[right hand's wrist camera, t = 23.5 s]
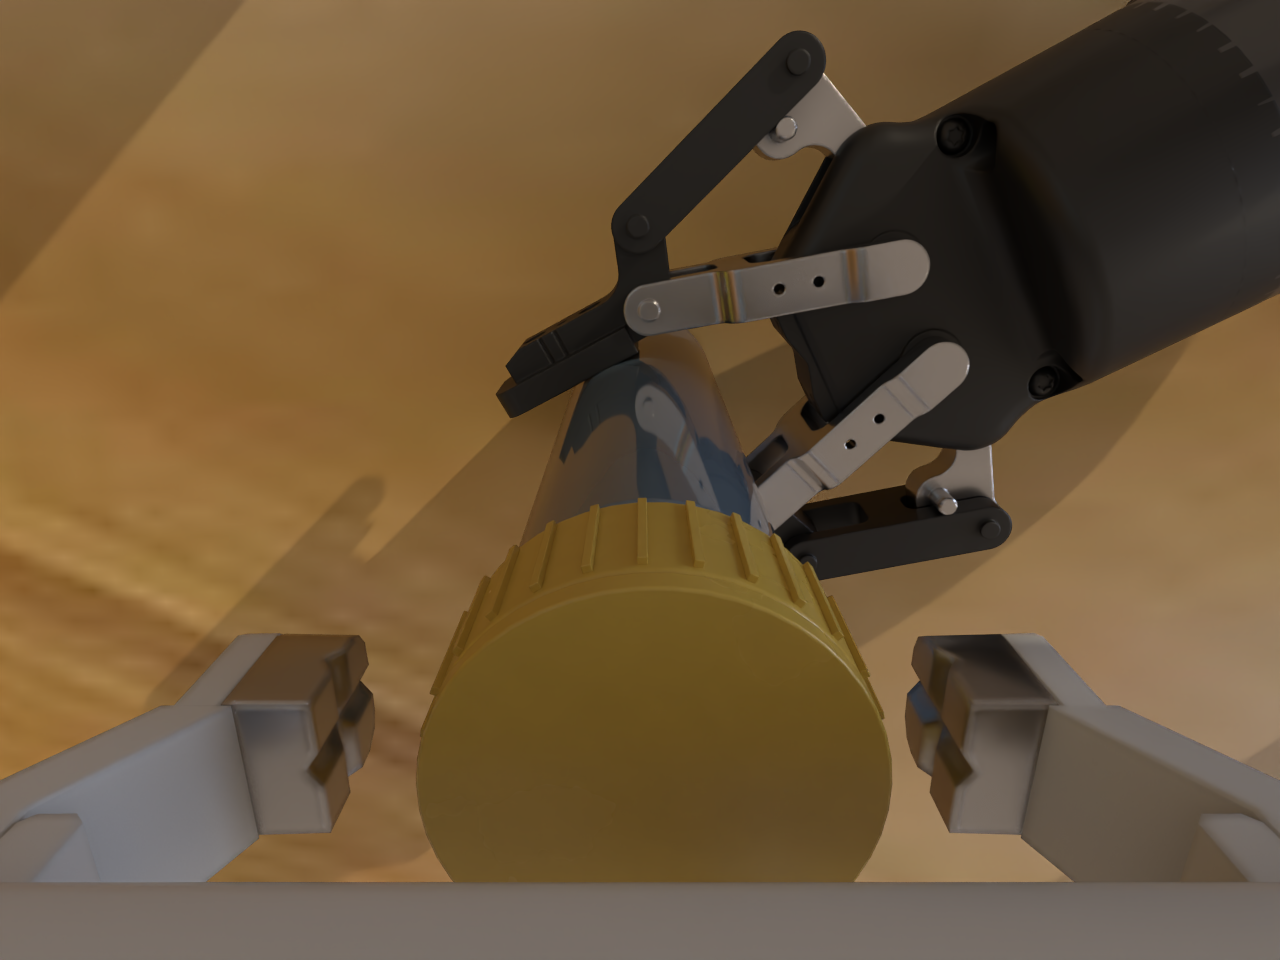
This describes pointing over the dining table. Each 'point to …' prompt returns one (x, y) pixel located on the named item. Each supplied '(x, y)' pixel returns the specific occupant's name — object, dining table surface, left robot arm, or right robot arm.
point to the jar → (648, 441)
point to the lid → (653, 712)
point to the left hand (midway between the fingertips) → (558, 479)
